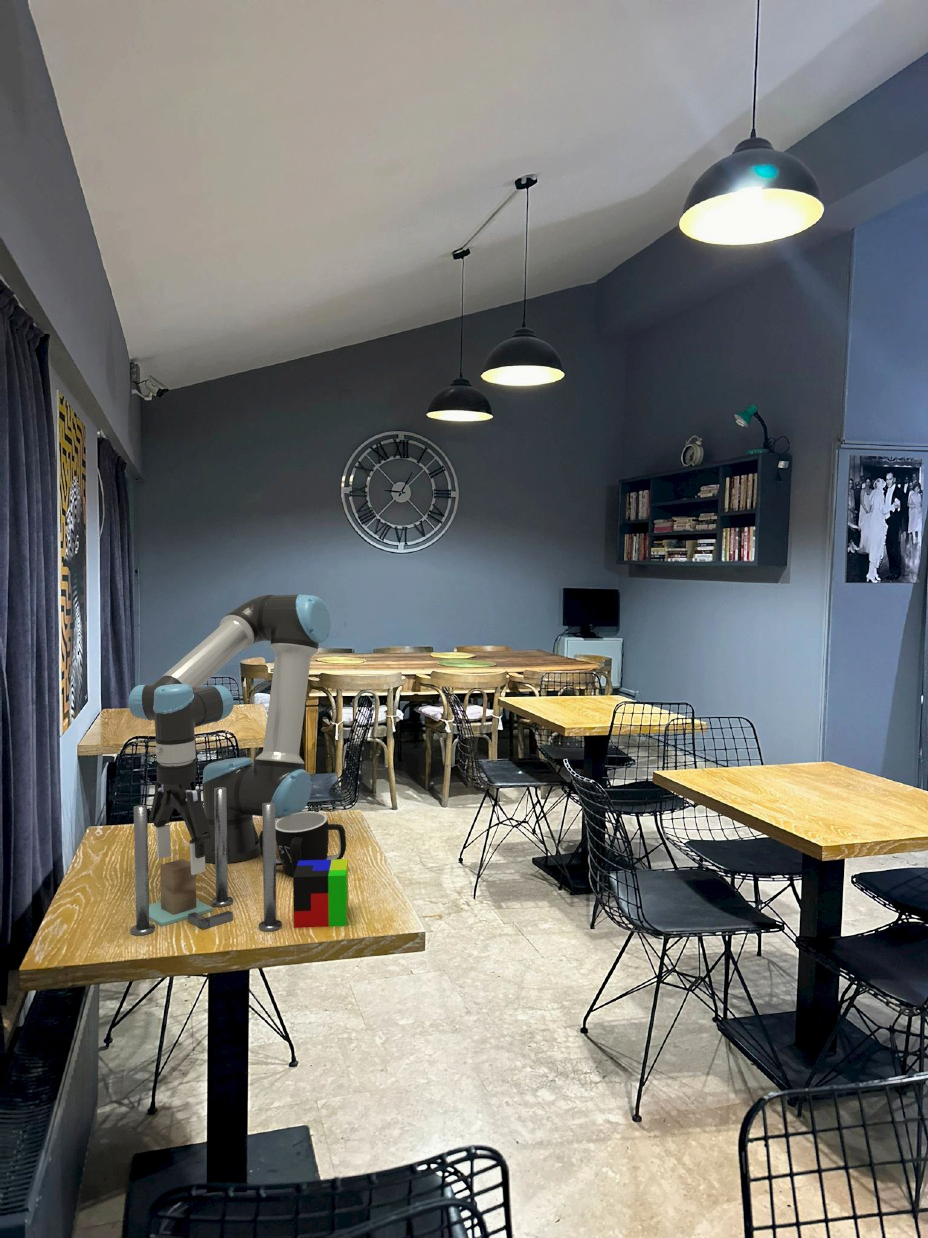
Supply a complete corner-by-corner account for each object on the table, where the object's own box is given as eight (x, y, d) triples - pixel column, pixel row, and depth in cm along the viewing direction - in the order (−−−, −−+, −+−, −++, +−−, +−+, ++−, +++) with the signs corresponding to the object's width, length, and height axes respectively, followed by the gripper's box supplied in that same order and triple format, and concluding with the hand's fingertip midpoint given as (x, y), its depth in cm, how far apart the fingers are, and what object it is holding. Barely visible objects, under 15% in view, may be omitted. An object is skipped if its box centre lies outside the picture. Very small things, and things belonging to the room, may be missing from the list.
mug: (258, 871, 201) (252, 822, 199) (318, 849, 211) (313, 802, 209) (291, 893, 189) (285, 841, 187) (354, 869, 198) (349, 819, 197)
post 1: (126, 931, 166) (124, 807, 165) (148, 924, 169) (146, 802, 168) (136, 937, 163) (134, 811, 162) (159, 930, 166) (156, 806, 165)
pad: (136, 911, 176) (135, 908, 176) (186, 897, 184) (186, 894, 183) (161, 926, 168) (161, 923, 168) (212, 911, 176) (212, 908, 176)
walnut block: (183, 902, 179) (183, 859, 179) (196, 908, 176) (195, 864, 175) (161, 908, 176) (160, 864, 175) (173, 915, 172) (172, 870, 172)
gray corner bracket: (188, 921, 170) (187, 914, 170) (217, 912, 175) (217, 905, 175) (202, 929, 166) (202, 922, 166) (232, 920, 171) (232, 912, 171)
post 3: (254, 927, 167) (252, 804, 166) (273, 920, 171) (272, 800, 170) (266, 933, 164) (265, 808, 163) (286, 927, 167) (284, 804, 166)
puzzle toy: (299, 909, 177) (298, 860, 177) (348, 907, 178) (348, 859, 177) (293, 928, 167) (293, 877, 167) (346, 926, 168) (345, 875, 168)
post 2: (207, 903, 180) (205, 788, 179) (226, 897, 183) (224, 785, 182) (218, 908, 177) (216, 792, 176) (237, 903, 180) (235, 788, 179)
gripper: (129, 756, 180) (134, 855, 182) (191, 775, 163) (196, 885, 165) (162, 749, 186) (167, 846, 187) (226, 768, 169) (230, 874, 170)
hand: (180, 865), depth 176 cm, fingers open, 13 cm apart
